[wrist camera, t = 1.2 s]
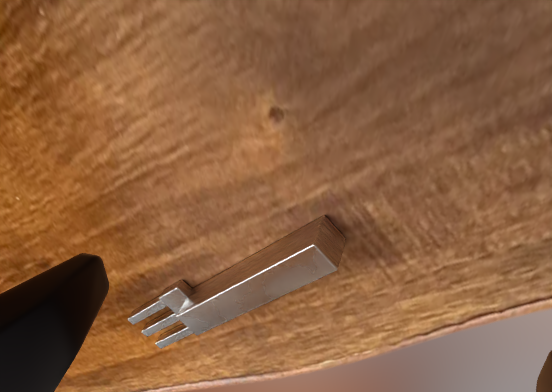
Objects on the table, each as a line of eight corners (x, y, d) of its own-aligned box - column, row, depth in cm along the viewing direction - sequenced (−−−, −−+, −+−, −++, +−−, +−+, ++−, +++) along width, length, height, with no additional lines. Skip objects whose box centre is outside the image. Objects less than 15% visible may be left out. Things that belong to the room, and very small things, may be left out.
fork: (313, 201, 25) (301, 230, 23) (357, 250, 26) (349, 282, 24) (130, 308, 34) (111, 335, 33) (168, 342, 35) (151, 370, 33)
